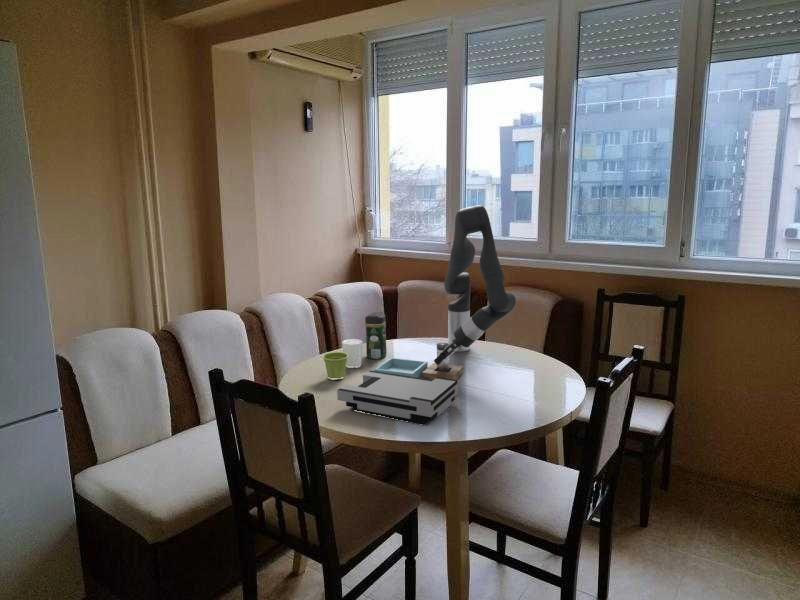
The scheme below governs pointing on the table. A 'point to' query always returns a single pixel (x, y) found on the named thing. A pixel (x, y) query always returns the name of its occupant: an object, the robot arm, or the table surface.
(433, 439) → the table surface
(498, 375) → the table surface
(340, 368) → the plant pot
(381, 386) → the game console
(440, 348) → the bottle with dark cap
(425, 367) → the parts tray
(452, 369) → the brown square frame
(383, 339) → the coffee jar
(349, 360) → the white cup
